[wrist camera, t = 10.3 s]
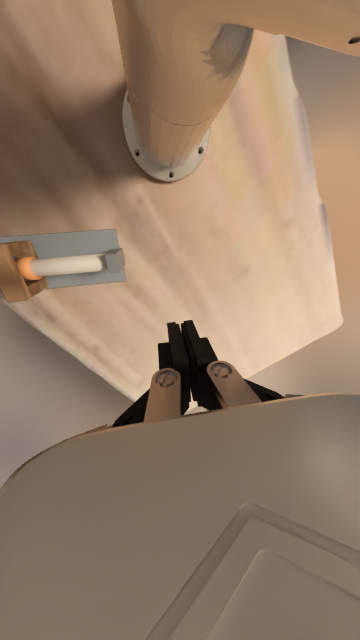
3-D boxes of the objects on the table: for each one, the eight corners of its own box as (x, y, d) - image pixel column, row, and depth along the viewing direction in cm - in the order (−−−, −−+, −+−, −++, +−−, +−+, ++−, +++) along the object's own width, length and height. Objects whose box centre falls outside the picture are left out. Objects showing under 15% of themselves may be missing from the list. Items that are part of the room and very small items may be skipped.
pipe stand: (-13, 238, 31) (-59, 242, 24) (119, 228, 33) (111, 230, 26) (14, 290, 35) (-20, 306, 28) (129, 279, 37) (124, 292, 30)
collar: (14, 241, 30) (-23, 246, 23) (30, 240, 30) (-2, 244, 24) (35, 287, 33) (8, 302, 27) (49, 286, 33) (25, 300, 27)
